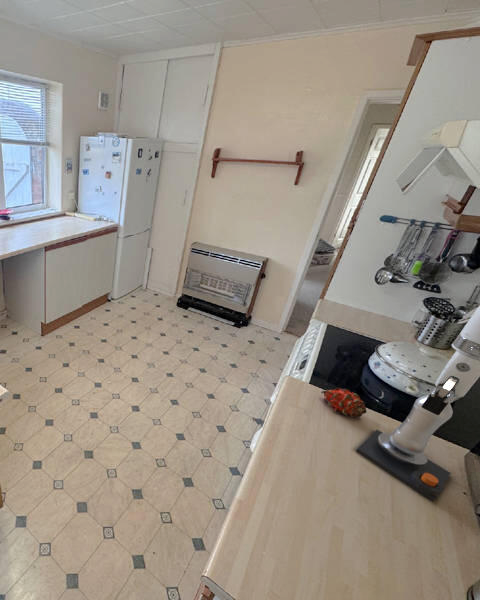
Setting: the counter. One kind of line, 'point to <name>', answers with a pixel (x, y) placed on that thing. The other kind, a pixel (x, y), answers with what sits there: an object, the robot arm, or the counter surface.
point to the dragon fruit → (345, 402)
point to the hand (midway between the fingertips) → (435, 404)
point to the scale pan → (401, 452)
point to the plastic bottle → (419, 426)
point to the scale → (404, 468)
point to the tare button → (429, 479)
